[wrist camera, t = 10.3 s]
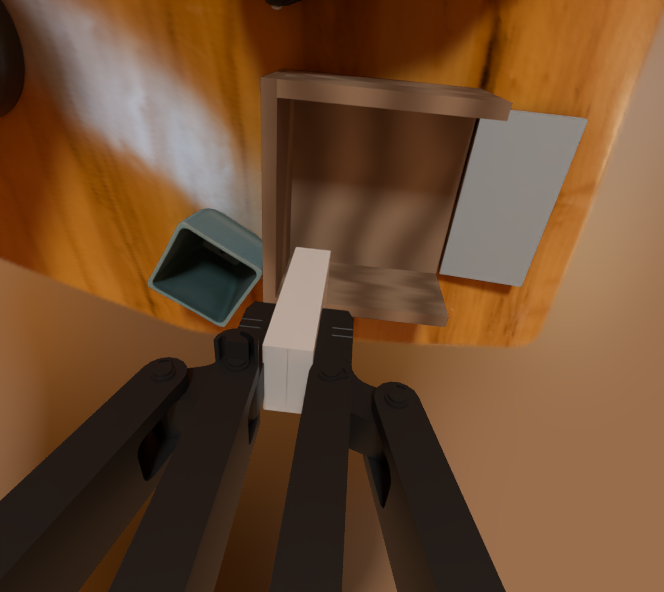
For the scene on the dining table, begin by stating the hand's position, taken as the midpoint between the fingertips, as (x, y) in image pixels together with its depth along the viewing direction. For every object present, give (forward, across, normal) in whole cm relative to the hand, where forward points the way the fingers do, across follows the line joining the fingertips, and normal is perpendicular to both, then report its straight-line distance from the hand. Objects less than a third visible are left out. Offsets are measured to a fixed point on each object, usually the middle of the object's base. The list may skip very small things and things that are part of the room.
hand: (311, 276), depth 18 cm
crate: (+26, +3, -4) cm, 27 cm away
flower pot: (+27, -12, -12) cm, 32 cm away
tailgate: (+25, +12, -4) cm, 28 cm away
